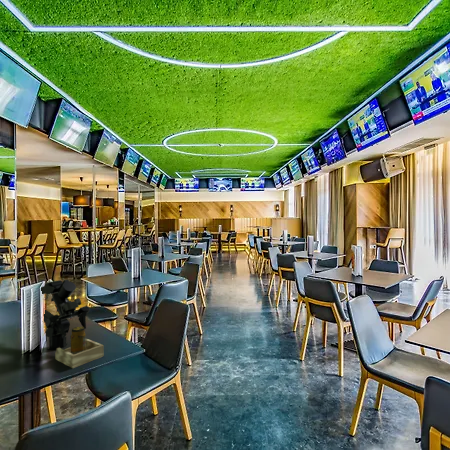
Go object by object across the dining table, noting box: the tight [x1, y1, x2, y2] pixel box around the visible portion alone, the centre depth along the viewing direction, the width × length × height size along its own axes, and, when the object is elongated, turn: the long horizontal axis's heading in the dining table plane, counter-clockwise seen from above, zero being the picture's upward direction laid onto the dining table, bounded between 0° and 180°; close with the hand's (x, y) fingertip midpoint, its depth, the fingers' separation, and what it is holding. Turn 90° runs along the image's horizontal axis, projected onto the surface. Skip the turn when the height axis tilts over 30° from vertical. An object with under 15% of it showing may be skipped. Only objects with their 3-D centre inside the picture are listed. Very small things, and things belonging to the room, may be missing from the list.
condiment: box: [70, 326, 87, 354], centre depth 136 cm, size 7×8×12 cm
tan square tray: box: [54, 338, 105, 369], centre depth 136 cm, size 15×14×5 cm
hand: (75, 332), depth 140 cm, fingers open, 9 cm apart
